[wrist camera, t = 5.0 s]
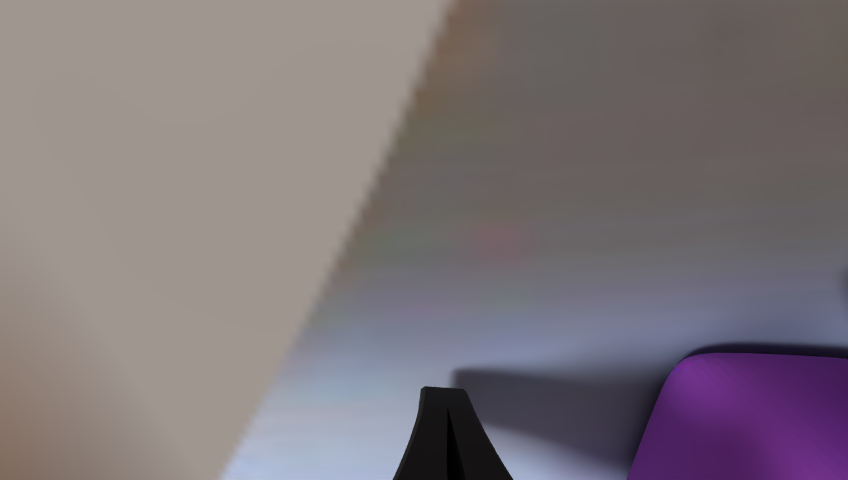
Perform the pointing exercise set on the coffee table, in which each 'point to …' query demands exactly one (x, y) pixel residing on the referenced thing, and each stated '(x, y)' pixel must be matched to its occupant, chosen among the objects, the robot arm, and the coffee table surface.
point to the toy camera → (748, 420)
